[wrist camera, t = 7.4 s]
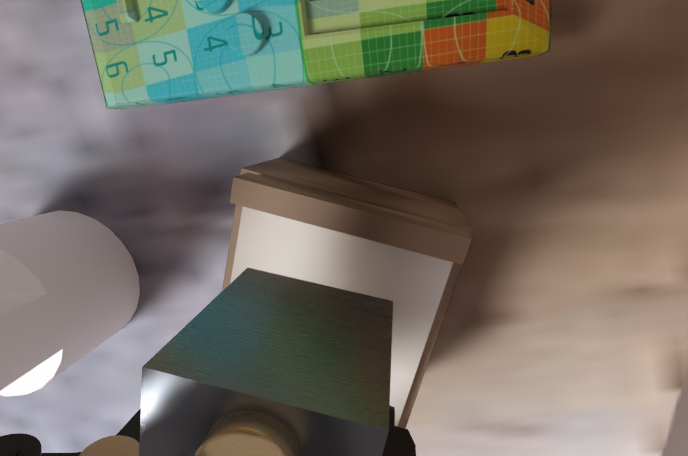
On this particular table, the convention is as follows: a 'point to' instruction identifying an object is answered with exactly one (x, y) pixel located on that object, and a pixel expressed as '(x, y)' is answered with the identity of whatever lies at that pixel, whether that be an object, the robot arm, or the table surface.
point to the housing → (273, 374)
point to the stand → (355, 250)
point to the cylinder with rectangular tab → (59, 295)
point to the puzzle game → (295, 42)
